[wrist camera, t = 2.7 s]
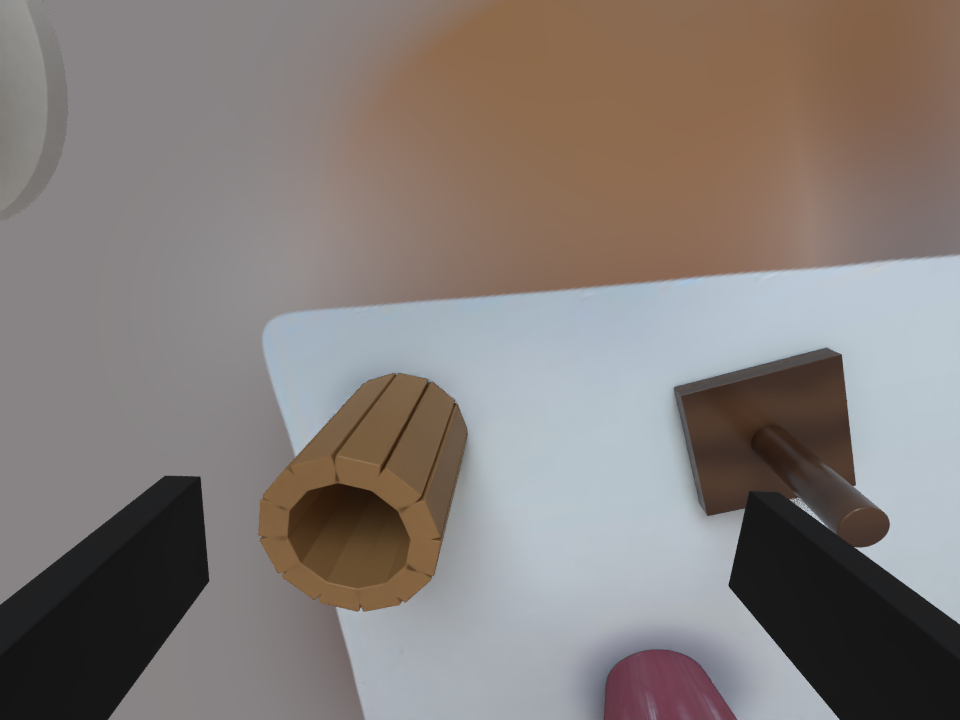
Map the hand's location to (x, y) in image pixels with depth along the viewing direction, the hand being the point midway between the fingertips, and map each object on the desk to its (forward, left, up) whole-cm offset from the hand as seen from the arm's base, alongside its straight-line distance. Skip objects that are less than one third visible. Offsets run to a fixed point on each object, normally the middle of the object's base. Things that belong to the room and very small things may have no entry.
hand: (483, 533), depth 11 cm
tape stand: (+13, +15, -22) cm, 29 cm away
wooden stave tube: (+6, -10, -22) cm, 25 cm away
